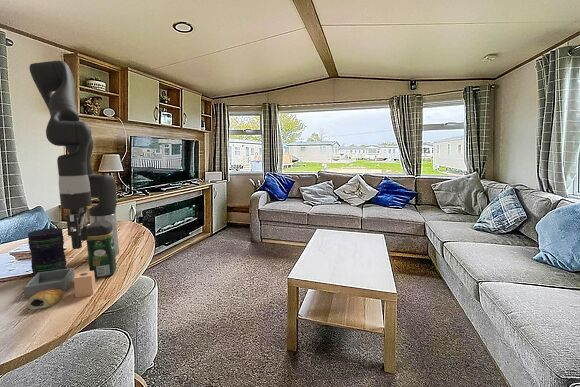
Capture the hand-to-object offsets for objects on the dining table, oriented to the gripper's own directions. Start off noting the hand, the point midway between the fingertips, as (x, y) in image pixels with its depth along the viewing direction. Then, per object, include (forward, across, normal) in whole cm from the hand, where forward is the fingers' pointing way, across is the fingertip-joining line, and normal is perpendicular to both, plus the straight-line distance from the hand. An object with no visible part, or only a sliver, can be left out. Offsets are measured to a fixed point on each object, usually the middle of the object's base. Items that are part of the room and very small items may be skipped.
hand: (80, 244), depth 94 cm
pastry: (+16, +3, -9) cm, 19 cm away
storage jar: (+16, -24, -15) cm, 32 cm away
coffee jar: (+16, -15, +3) cm, 22 cm away
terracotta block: (+15, 0, 0) cm, 16 cm away
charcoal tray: (+15, -10, -11) cm, 21 cm away
